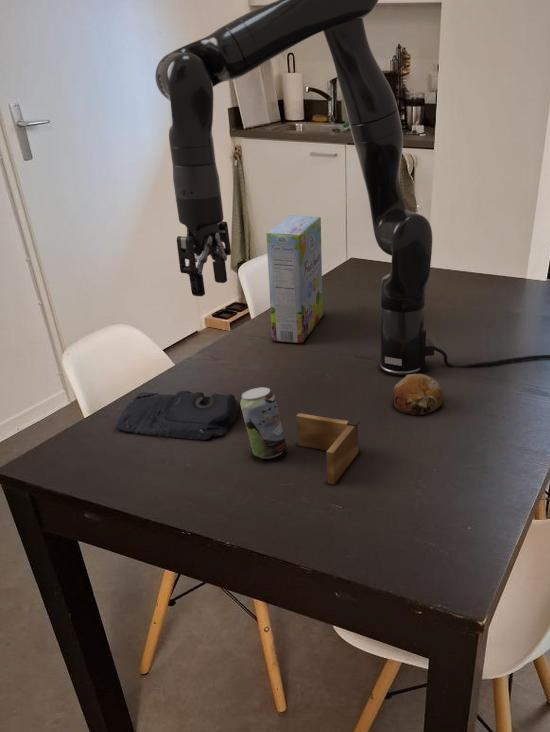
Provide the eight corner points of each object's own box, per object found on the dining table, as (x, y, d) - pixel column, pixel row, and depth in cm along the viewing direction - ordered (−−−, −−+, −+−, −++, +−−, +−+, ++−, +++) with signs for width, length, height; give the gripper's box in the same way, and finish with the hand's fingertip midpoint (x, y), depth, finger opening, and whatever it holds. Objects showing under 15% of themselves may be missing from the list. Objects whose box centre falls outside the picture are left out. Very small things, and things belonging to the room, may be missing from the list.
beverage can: (281, 464, 119) (275, 401, 113) (240, 460, 120) (233, 397, 114) (291, 446, 124) (286, 385, 118) (252, 443, 126) (246, 382, 119)
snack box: (306, 345, 167) (300, 234, 153) (271, 343, 168) (262, 233, 154) (325, 315, 185) (321, 214, 171) (294, 314, 186) (287, 213, 172)
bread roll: (444, 417, 141) (449, 378, 140) (433, 417, 132) (440, 375, 131) (397, 410, 144) (403, 372, 143) (384, 410, 134) (390, 369, 133)
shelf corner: (273, 472, 117) (270, 440, 114) (301, 441, 126) (299, 410, 123) (336, 484, 113) (334, 451, 110) (360, 452, 123) (360, 420, 119)
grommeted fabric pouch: (145, 398, 142) (141, 376, 140) (247, 406, 139) (244, 384, 136) (108, 432, 130) (103, 409, 127) (219, 442, 126) (216, 419, 124)
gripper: (197, 201, 109) (210, 302, 118) (237, 186, 121) (246, 279, 129) (155, 199, 111) (171, 298, 120) (198, 184, 123) (210, 276, 131)
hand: (210, 288), depth 125 cm, fingers open, 8 cm apart
